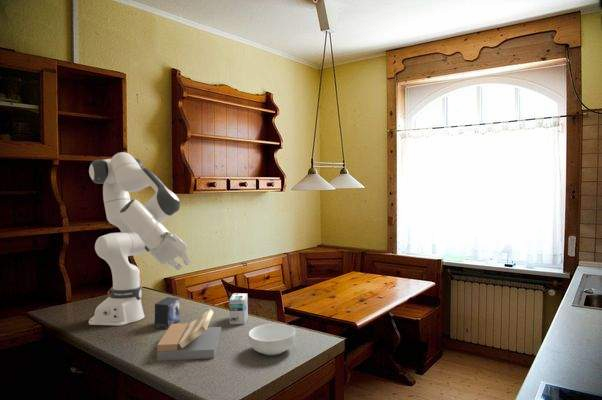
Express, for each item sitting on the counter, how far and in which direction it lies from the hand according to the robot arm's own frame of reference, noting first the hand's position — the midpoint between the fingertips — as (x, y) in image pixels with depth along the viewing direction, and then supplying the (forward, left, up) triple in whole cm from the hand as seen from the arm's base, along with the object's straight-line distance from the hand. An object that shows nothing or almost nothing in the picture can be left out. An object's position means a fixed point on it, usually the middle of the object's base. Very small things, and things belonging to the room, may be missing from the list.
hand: (184, 266), depth 146 cm
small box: (-12, +25, -30) cm, 41 cm away
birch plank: (+5, 0, -23) cm, 24 cm away
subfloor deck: (+2, 0, -30) cm, 30 cm away
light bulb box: (+18, +27, -30) cm, 44 cm away
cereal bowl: (+32, -7, -30) cm, 44 cm away
